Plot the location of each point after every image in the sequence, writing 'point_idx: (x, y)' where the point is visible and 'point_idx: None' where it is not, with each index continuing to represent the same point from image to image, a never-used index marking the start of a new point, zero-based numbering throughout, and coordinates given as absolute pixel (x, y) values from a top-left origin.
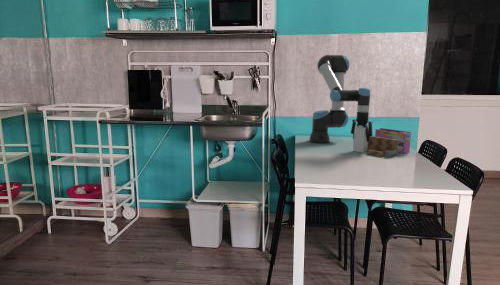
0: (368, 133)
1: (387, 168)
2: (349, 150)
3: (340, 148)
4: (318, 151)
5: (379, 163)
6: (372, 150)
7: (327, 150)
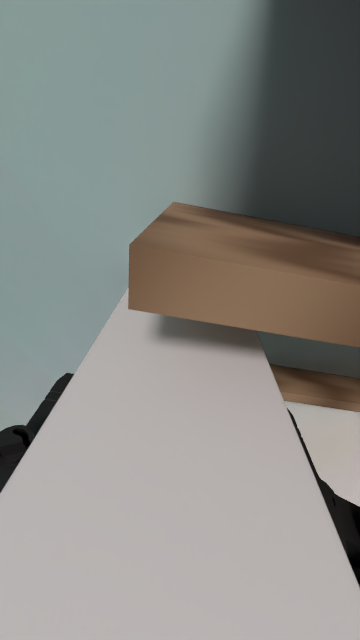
0: None
1: (356, 496)
2: (102, 328)
3: (6, 302)
4: (18, 424)
5: (331, 469)
6: (305, 399)
7: (20, 392)
